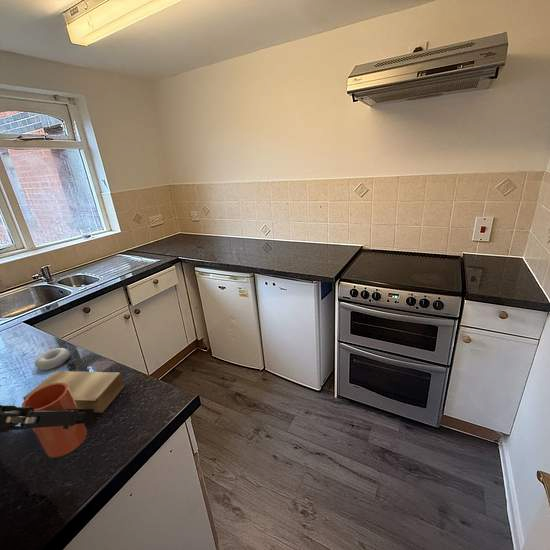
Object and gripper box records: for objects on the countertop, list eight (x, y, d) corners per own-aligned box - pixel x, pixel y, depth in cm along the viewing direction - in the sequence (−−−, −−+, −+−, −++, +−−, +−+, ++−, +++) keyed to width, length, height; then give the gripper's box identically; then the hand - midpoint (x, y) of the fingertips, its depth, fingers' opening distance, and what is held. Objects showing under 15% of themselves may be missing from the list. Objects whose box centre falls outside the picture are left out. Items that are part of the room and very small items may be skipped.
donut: (77, 354, 107) (54, 353, 109) (74, 346, 106) (51, 345, 108) (54, 373, 98) (29, 371, 100) (50, 364, 97) (25, 363, 99)
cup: (36, 456, 59) (11, 410, 55) (65, 424, 66) (45, 381, 62) (68, 458, 58) (45, 412, 54) (95, 426, 65) (76, 383, 60)
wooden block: (30, 411, 83) (22, 397, 81) (61, 384, 93) (55, 370, 91) (100, 415, 79) (94, 400, 77) (125, 386, 89) (120, 372, 87)
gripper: (20, 395, 43) (120, 397, 64) (-91, 390, 46) (39, 393, 67) (-1, 455, 40) (112, 437, 61) (-117, 445, 43) (27, 431, 64)
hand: (73, 414), depth 64 cm, fingers closed on cup, 7 cm apart
